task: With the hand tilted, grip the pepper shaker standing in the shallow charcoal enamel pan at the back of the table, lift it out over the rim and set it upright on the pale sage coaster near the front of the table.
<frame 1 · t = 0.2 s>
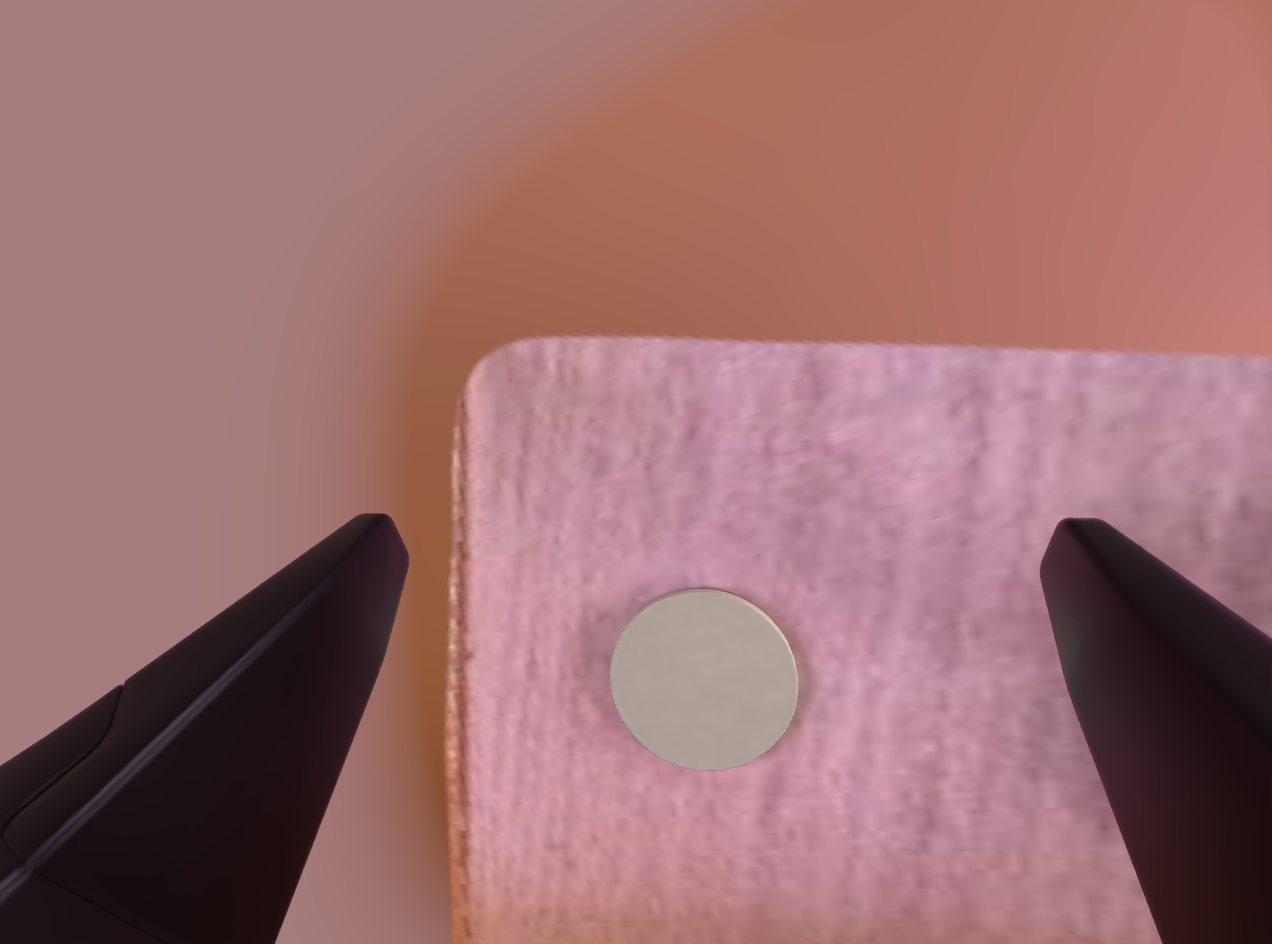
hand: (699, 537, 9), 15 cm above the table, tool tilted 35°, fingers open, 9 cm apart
coaster: (702, 677, 25), on the table
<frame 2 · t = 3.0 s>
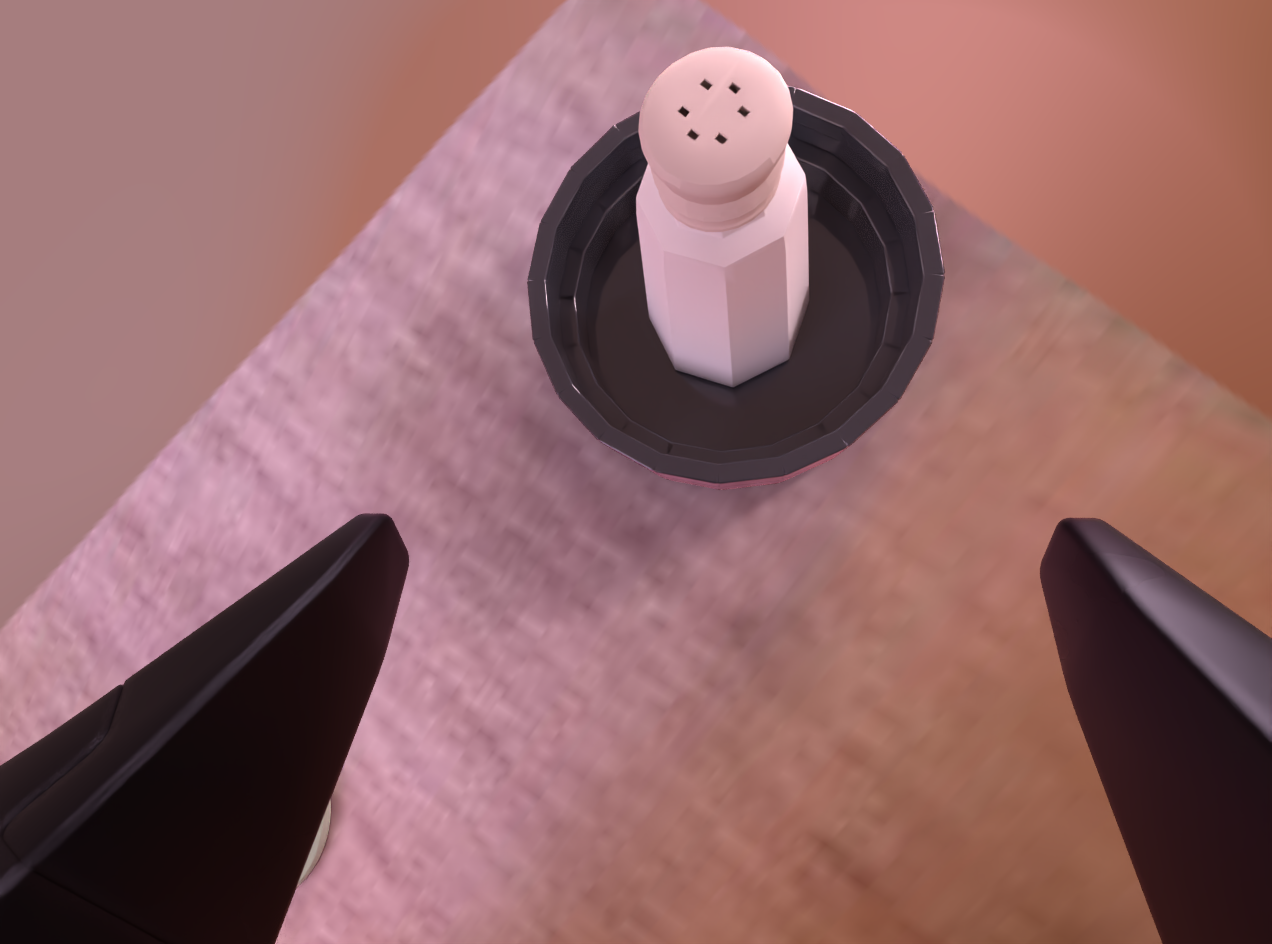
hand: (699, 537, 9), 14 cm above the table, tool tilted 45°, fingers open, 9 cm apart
pepper shaker: (727, 313, 23), resting on pan
pan: (728, 315, 23), on the table
coaster: (245, 805, 24), on the table
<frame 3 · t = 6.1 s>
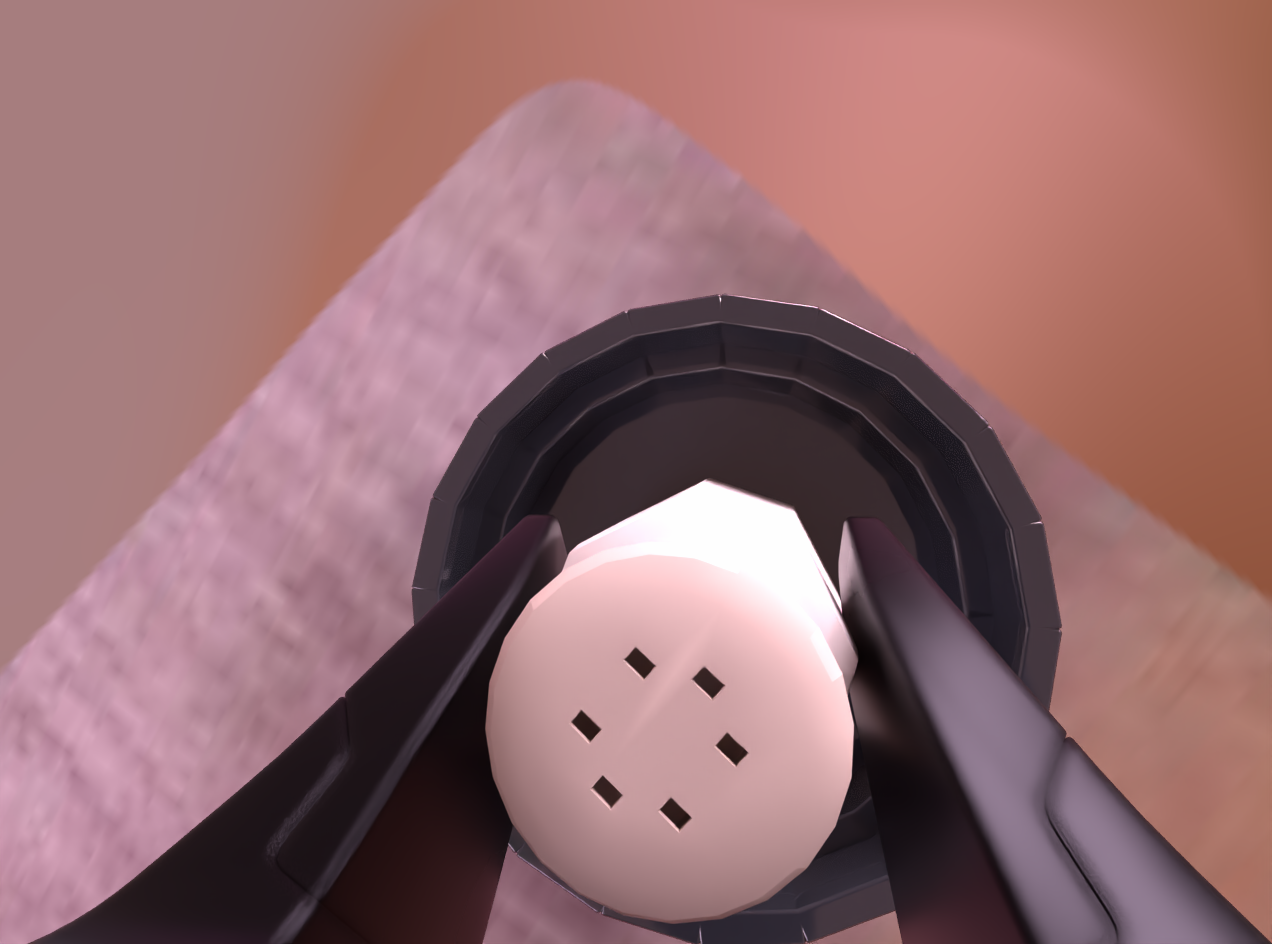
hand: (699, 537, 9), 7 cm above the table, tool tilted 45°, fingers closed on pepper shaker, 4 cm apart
pepper shaker: (717, 591, 16), resting on pan, touching gripper
pan: (717, 590, 16), on the table
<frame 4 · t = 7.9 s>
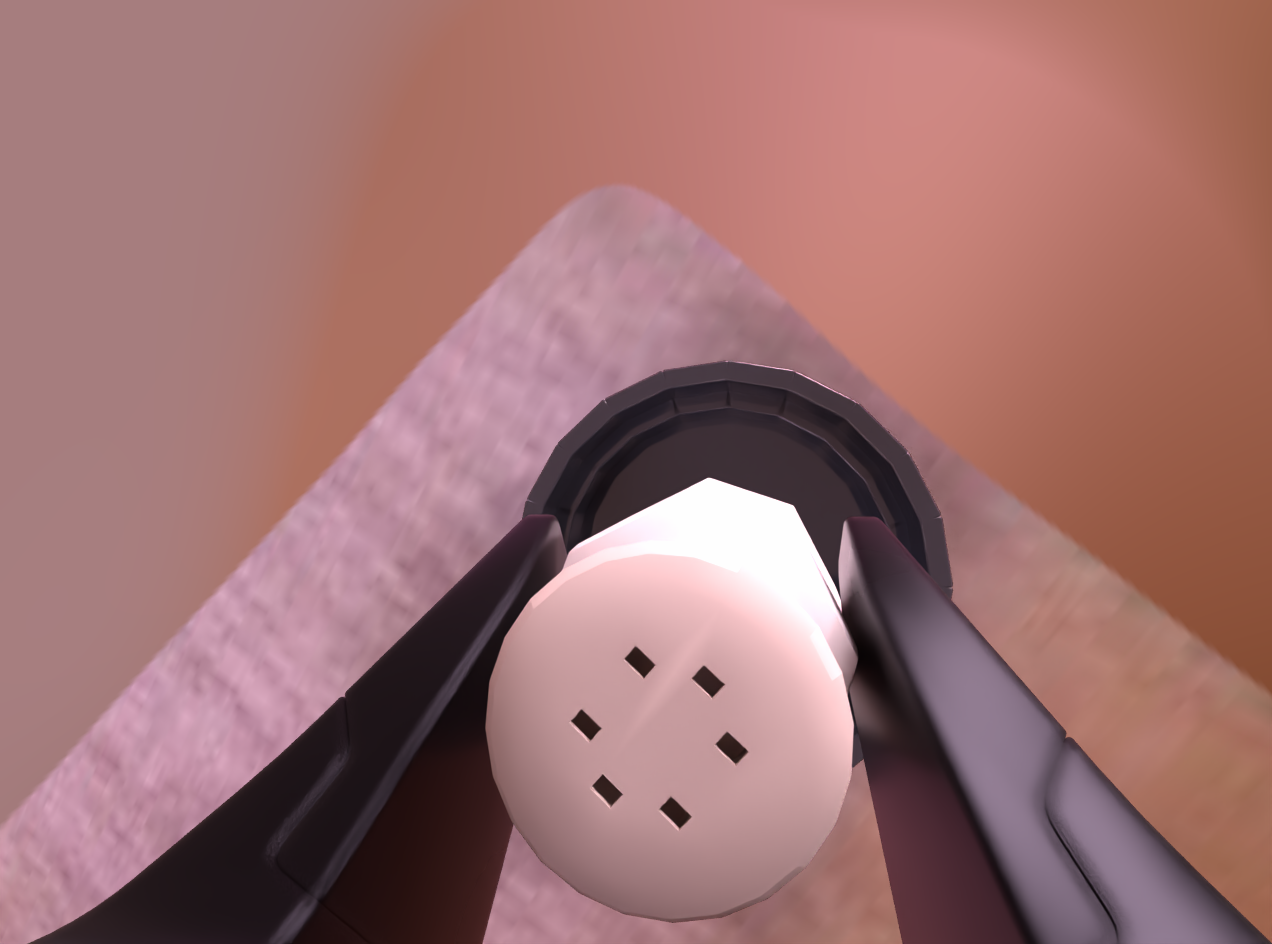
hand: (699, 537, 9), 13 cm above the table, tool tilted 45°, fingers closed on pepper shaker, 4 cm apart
pepper shaker: (717, 590, 16), point 6 cm above the table, touching gripper
pan: (724, 566, 22), on the table
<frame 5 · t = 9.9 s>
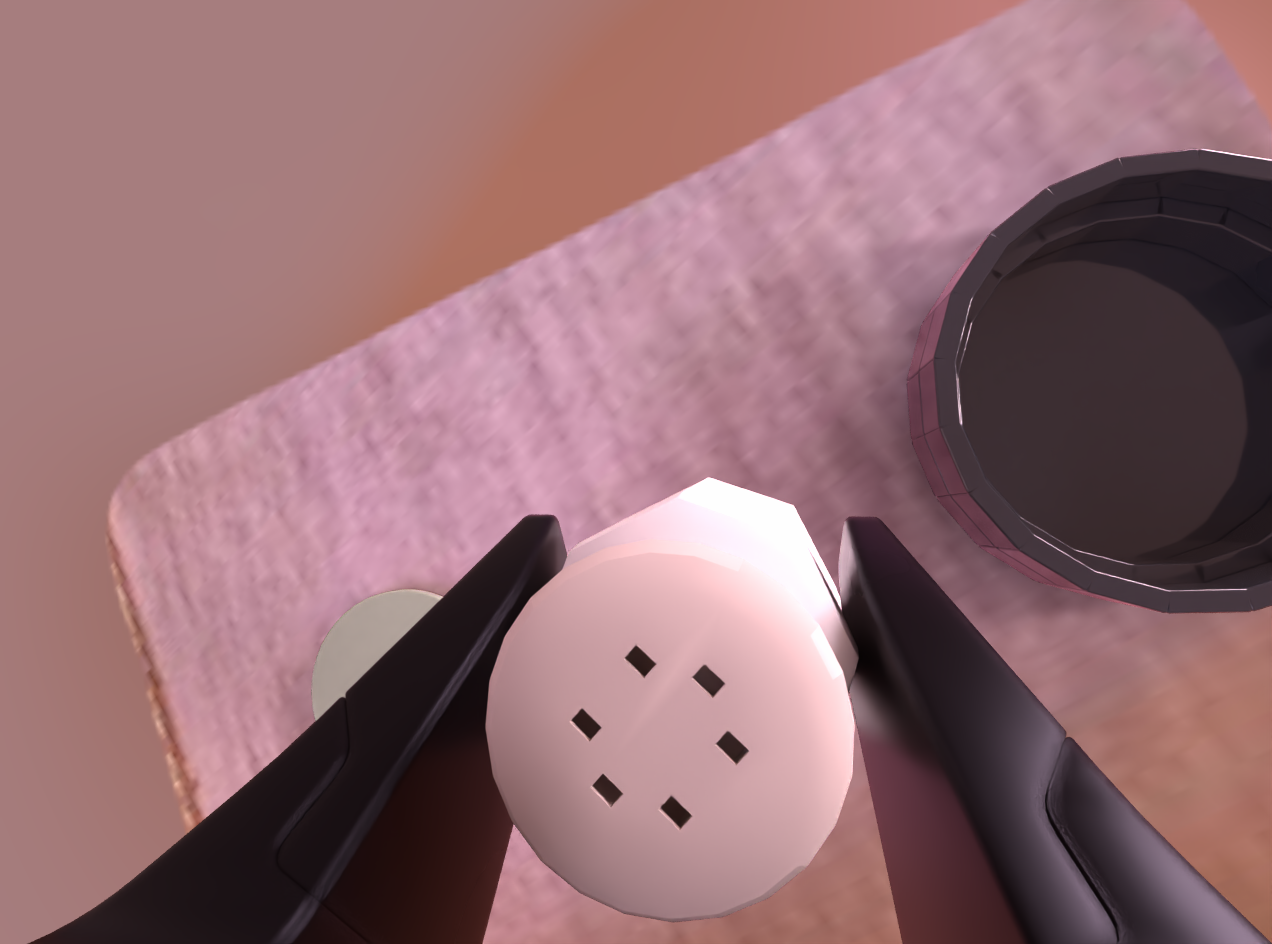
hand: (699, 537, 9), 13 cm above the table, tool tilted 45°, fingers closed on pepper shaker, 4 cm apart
pepper shaker: (717, 590, 16), point 6 cm above the table, touching gripper
pan: (1109, 400, 20), on the table
coaster: (408, 687, 23), on the table
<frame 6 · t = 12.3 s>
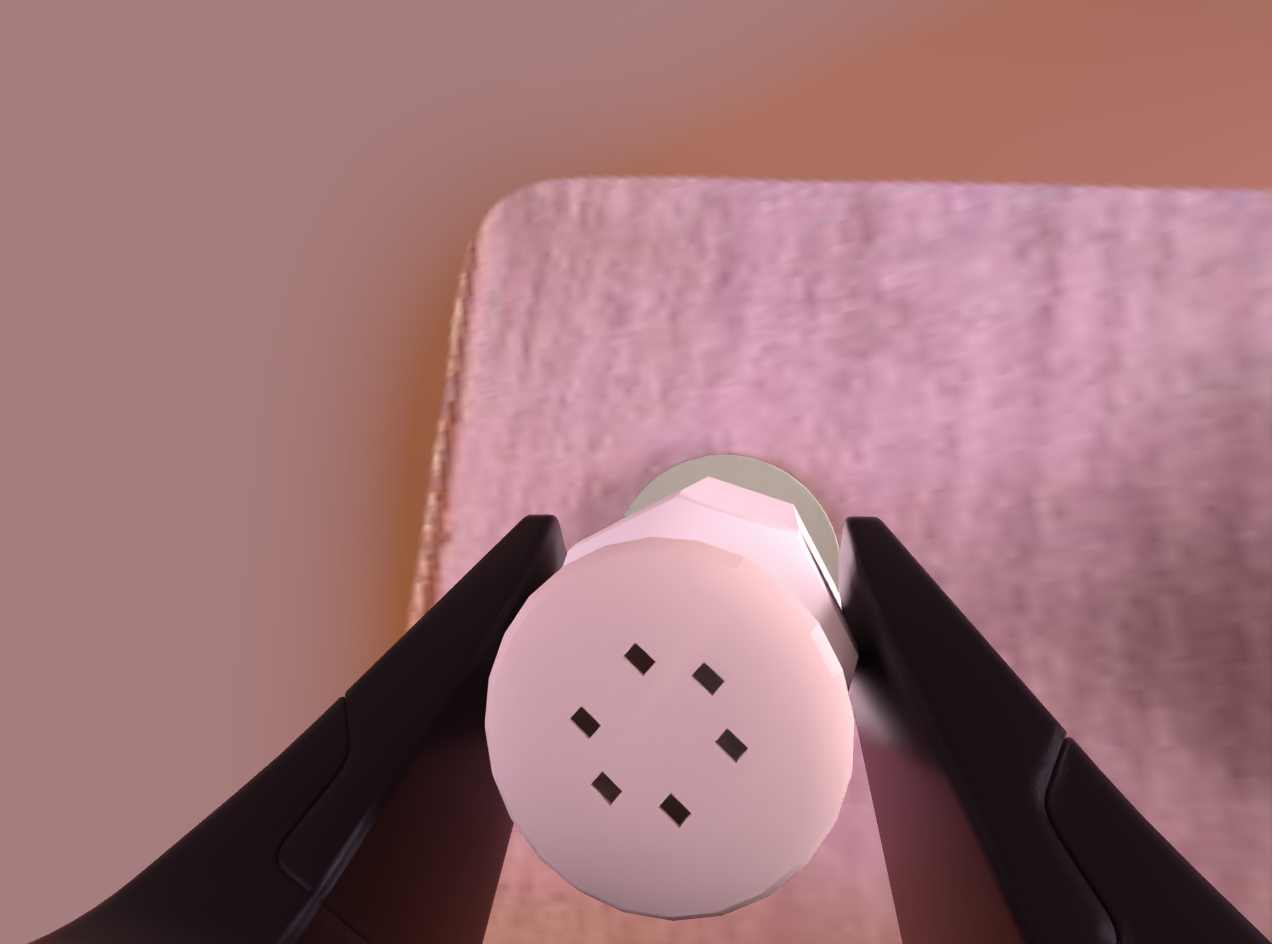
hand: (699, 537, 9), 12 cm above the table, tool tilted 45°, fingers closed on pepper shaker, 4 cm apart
pepper shaker: (717, 589, 16), point 5 cm above the table, touching gripper
coaster: (723, 566, 21), on the table
when the fingers open (7 cm above the table, at t = 13.9 s): pepper shaker stays where it is, resting on coaster.
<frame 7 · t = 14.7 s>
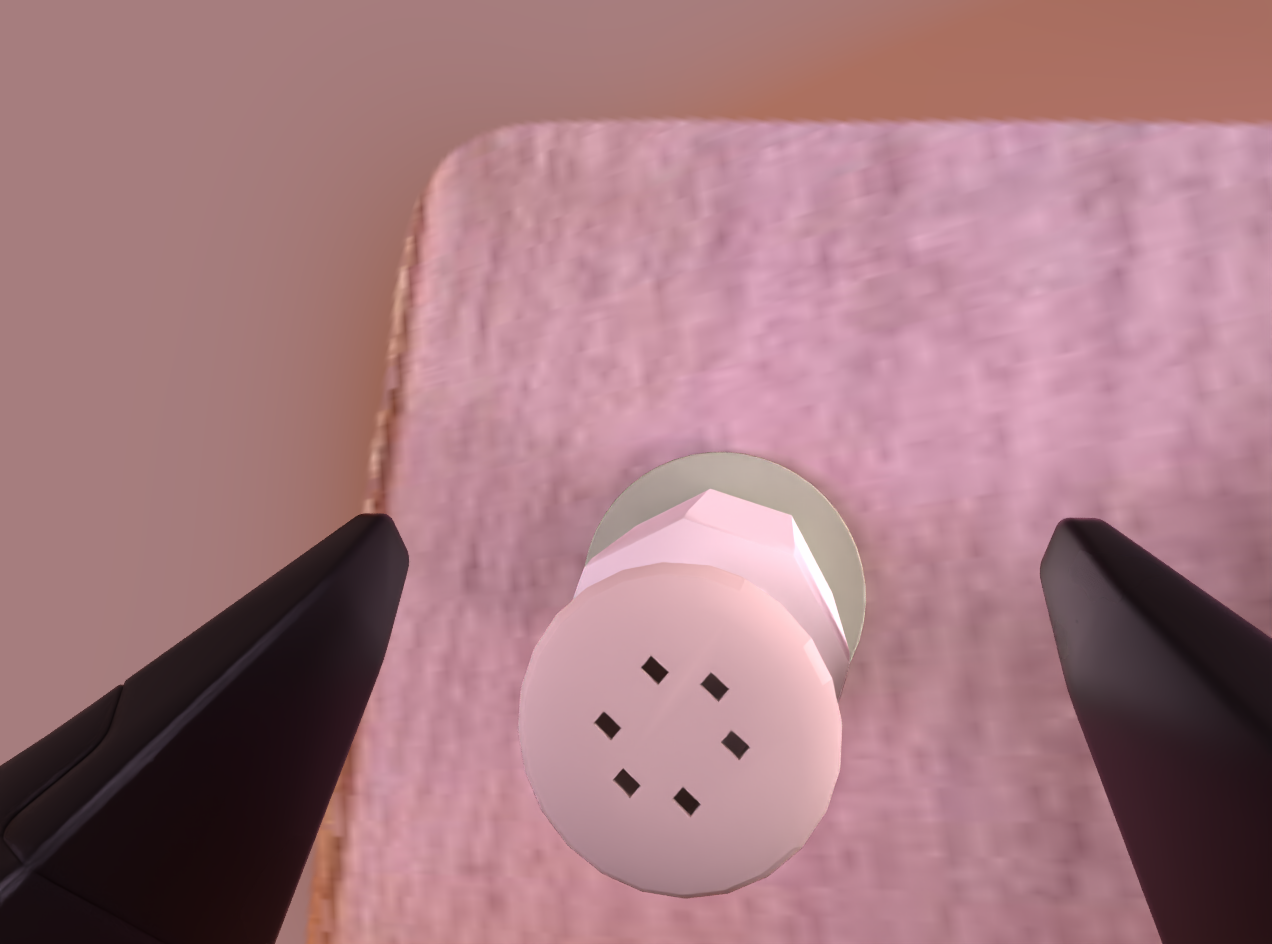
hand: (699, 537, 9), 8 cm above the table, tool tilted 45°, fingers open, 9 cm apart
pepper shaker: (718, 597, 16), resting on coaster
coaster: (719, 589, 17), on the table
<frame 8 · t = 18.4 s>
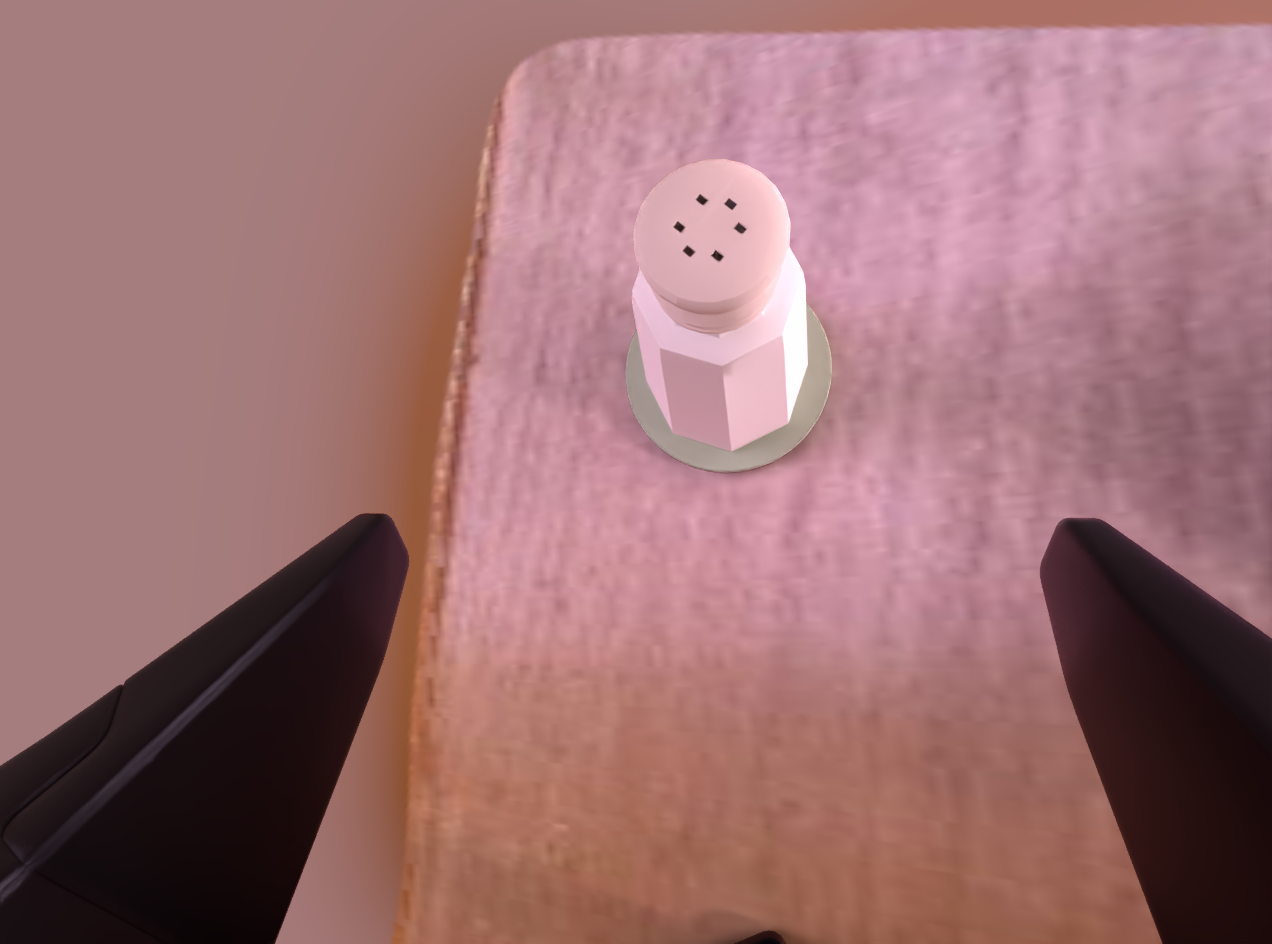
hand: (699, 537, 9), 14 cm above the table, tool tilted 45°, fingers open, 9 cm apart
pepper shaker: (725, 375, 23), resting on coaster
coaster: (726, 373, 23), on the table
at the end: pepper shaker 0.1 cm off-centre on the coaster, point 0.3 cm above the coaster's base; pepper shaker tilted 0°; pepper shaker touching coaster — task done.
